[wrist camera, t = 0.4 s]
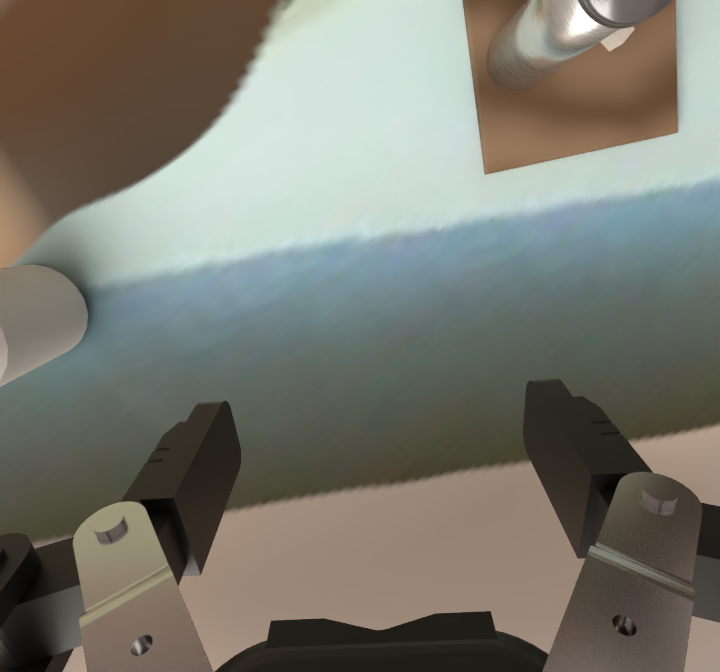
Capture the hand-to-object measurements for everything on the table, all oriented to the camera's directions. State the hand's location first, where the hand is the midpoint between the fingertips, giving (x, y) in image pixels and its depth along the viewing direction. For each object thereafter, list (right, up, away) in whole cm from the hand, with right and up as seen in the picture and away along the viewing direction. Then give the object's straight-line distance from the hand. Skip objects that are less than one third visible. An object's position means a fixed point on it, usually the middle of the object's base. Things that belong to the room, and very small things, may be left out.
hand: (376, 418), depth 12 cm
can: (-26, +4, +25) cm, 36 cm away
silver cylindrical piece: (+11, +23, +21) cm, 33 cm away
